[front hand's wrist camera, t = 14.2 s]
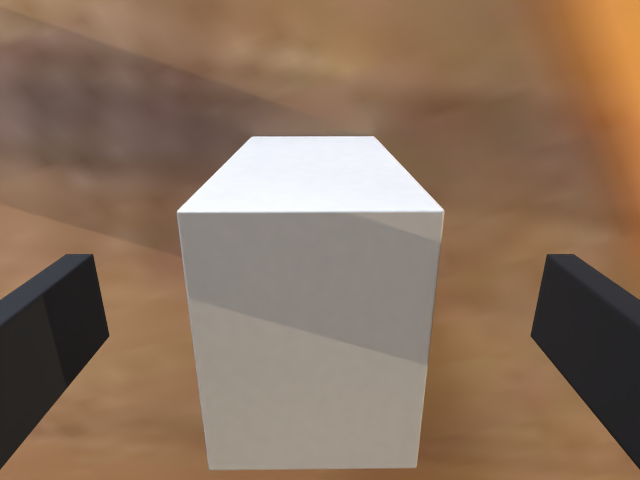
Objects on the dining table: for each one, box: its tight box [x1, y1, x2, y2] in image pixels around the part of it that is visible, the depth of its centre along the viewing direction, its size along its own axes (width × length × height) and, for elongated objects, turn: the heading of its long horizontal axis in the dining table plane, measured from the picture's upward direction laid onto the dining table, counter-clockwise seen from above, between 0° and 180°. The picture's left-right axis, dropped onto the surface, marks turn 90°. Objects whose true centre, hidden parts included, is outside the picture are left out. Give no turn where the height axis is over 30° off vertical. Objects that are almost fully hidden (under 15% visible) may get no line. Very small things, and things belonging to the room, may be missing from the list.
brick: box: [177, 136, 444, 470], centre depth 14 cm, size 7×5×10 cm
